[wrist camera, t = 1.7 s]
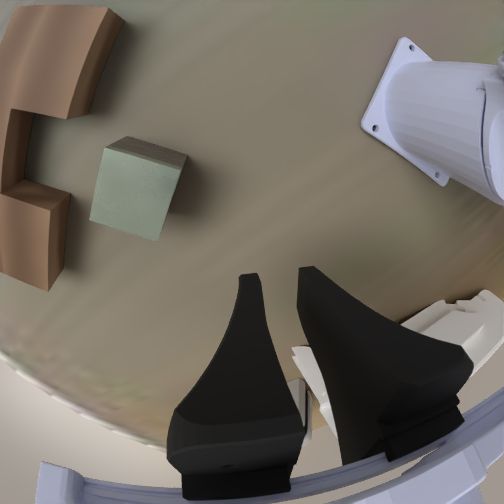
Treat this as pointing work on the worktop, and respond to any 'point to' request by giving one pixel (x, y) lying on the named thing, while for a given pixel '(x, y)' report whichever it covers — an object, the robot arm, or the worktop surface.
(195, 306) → the worktop surface
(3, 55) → the brown u-shaped block
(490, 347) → the shelf bracket
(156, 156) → the sage green cube
